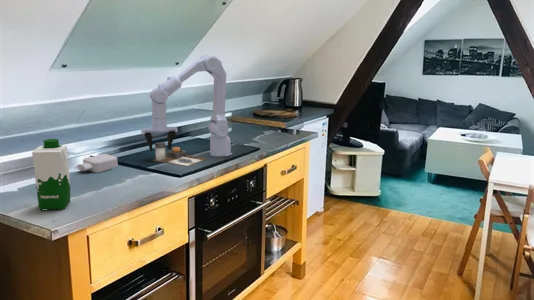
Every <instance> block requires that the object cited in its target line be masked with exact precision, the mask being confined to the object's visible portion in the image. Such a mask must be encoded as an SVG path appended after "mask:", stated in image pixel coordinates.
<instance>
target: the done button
mask: <svg viewBox="0 0 534 300" xmlns="http://www.w3.org/2000/svg"><path fill="white" fill-rule="evenodd" d="M172 150H173V152H174V153H179V152H180V150H181V147H179V146H175V147H172Z"/></svg>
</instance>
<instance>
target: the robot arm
mask: <svg viewBox="0 0 534 300" xmlns="http://www.w3.org/2000/svg"><path fill="white" fill-rule="evenodd" d="M222 63H223V62H222V61H221V60H220V59H219V58H218V57H217V56H215V55H206V54H204V55H202V56H200V57H199V58H197V59H195V60H194V61H193V62H192V63H190V65H188V66H187V67H186V68H185V69H183V70H182V71H181V72H180V73H179V74H177V76H175V75H171V76H167V77H166V80H165V81H163V82H162V83H161V84H158V85H157V87H155V88H153V89H152V90H151V91H150V93H149V98H150V100H151V124H152V126H151V127H147V128H141V130H140V131H141V134H142V135H143V136H144V138H145V139H146V142H147V144H148V150H149V151H150V152H153V135H152V134H160V133H161V134H162V133H166V135H167V150H169V151H171V150H172V144H173V141H174V140H175V137H176V135H177V133H178V127H177V126H168V125H167V103H166V102H167V101H168V98H169V97H170V96H172V95H173V94H174V93H176V92H177V91H178V90H179V89H181V88H182V85H183V83H184V82H185V81H186V80H189V78H190V77H191V76H194V75H195V74H196V73H199V72H206V73H208V74H209V75H211V77H212V78H213V93H212V96H213V98H212V114H211V116H210V122H209V123H208V127H207V129H208V131H209V133H210V135H209V136H210V138H209V140H210V141H209V143H210V144H209V146H210V147H209V149H210V152H209V154H210V156H213V157H228V156H229V157H230V156H232V155H233V153H232V151H231V150H232V149H231V148H232V147H231V146H232V145H231V144H232V143H231V138H230V136H229V135H228V134H229V131H230V130H229V128H230V127H229V126H228V119H227V117H226V96H227V94H226V93H227V92H226V91H227V72H226V70H225V68H224V67H223V64H222Z"/></svg>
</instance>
